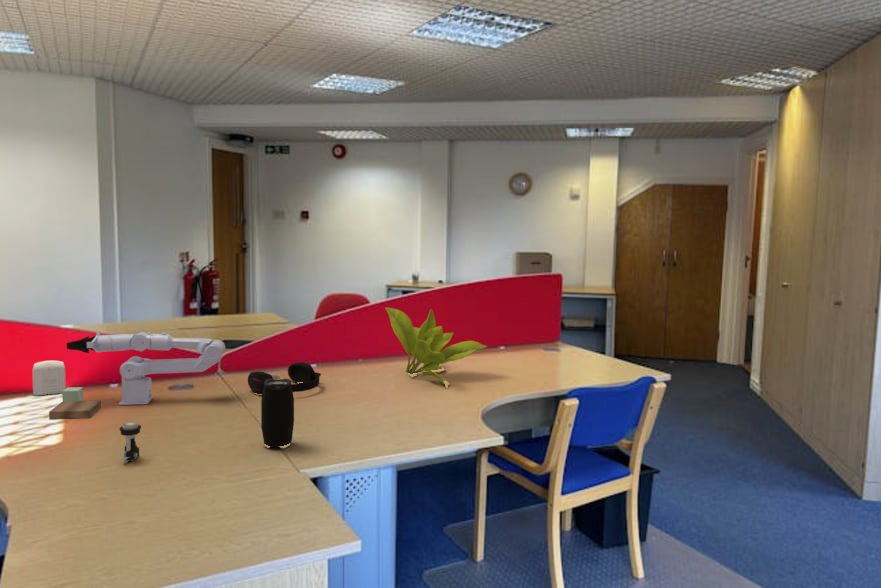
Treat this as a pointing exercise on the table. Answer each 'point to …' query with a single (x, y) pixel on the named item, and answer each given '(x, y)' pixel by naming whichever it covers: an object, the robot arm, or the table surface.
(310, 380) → the headset
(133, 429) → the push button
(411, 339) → the artificial plant
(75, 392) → the sage wooden cube
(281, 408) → the portable speaker
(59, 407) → the walnut riser block
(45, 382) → the photo printer
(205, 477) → the table surface
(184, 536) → the table surface
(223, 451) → the table surface
